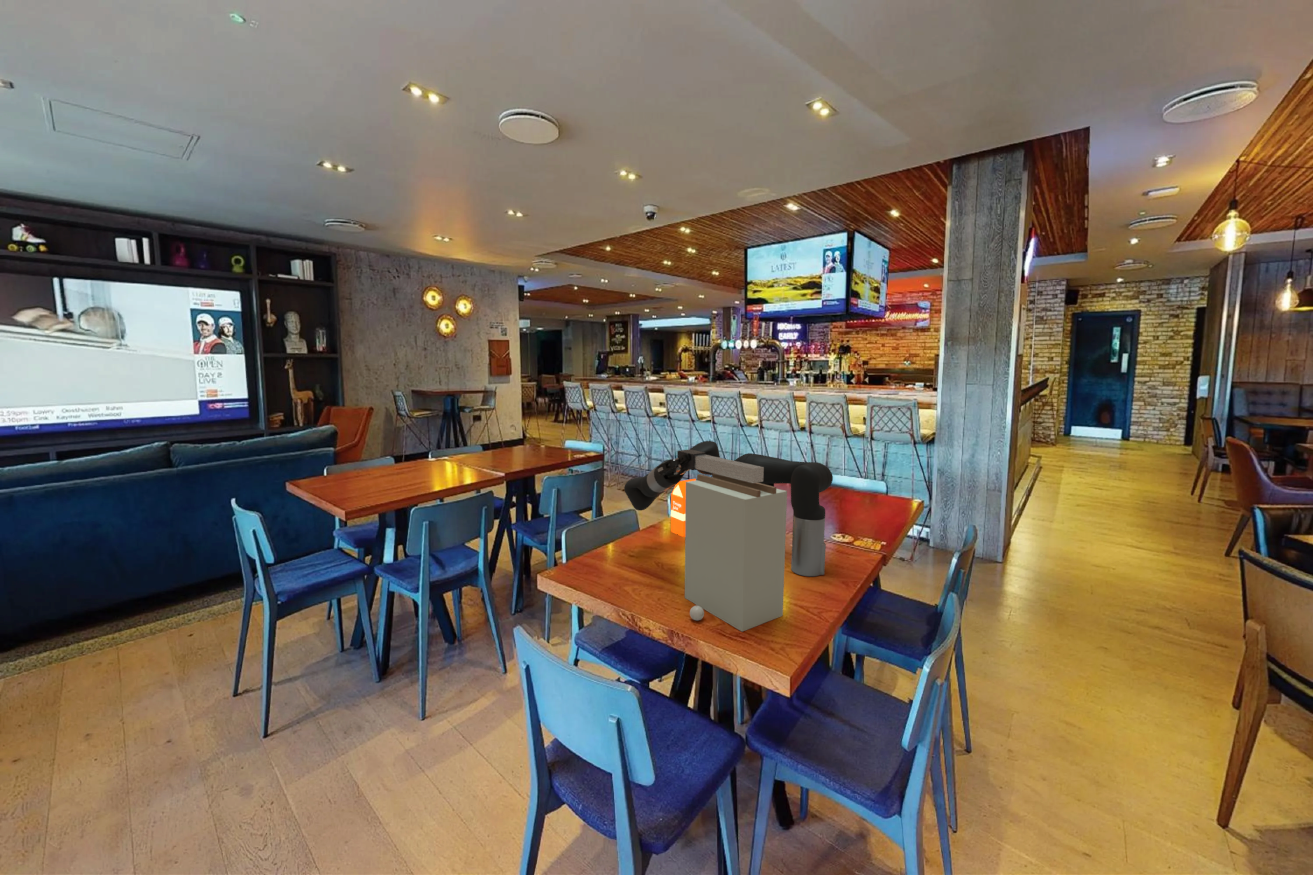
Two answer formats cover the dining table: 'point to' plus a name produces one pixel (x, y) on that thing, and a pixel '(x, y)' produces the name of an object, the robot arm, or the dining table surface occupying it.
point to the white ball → (696, 613)
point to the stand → (735, 549)
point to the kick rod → (722, 466)
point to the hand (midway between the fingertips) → (695, 455)
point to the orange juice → (679, 508)
